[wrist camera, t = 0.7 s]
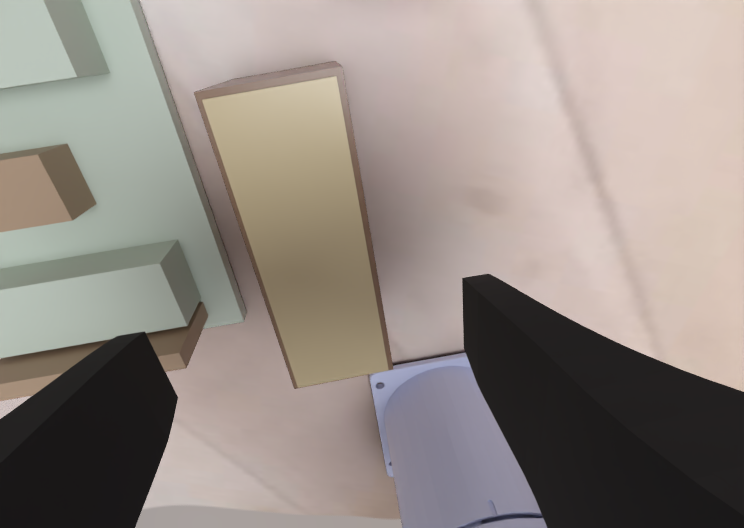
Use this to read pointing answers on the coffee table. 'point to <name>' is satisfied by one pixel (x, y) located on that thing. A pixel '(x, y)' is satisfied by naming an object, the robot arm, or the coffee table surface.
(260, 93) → the tan rectangular box
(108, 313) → the display cradle
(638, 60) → the coffee table surface
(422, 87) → the coffee table surface
